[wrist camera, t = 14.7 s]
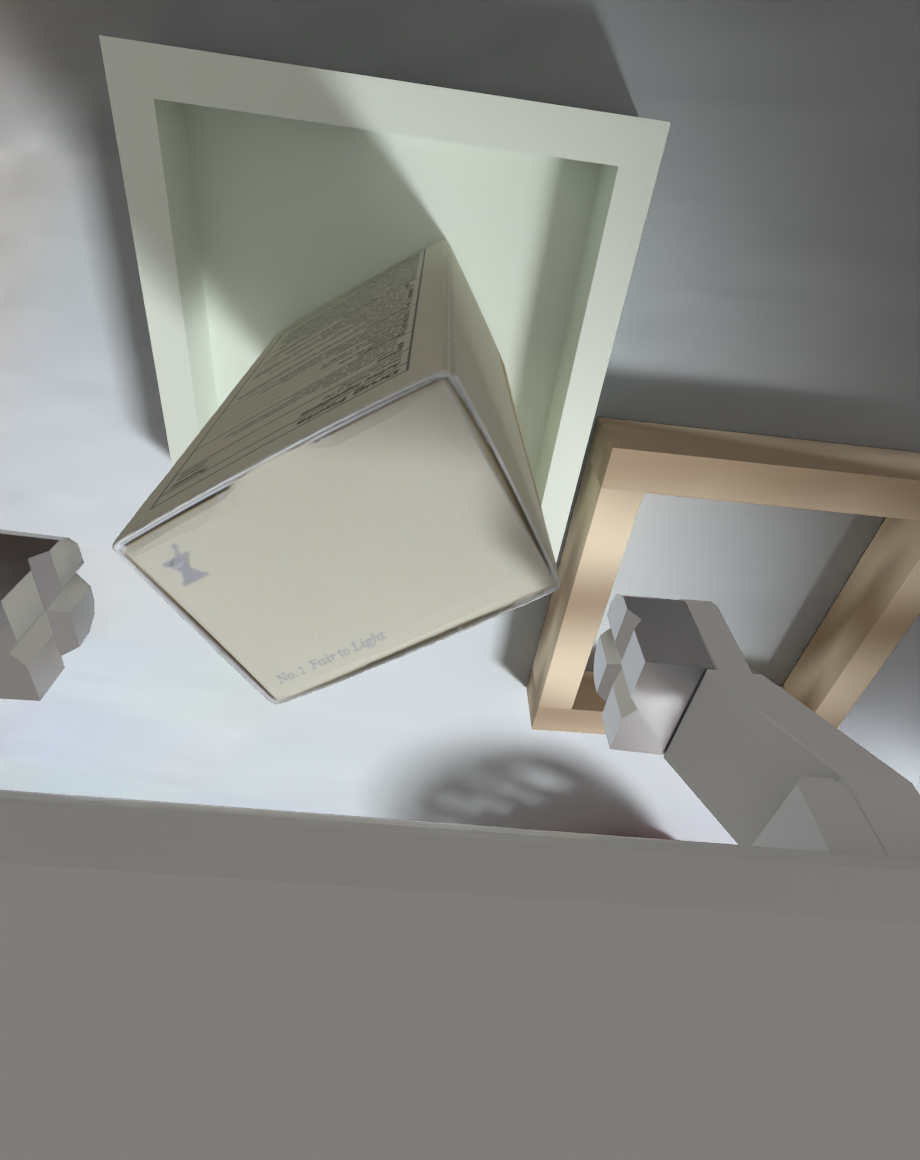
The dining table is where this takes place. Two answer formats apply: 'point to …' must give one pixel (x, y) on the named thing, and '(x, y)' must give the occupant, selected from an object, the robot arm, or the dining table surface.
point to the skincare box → (353, 490)
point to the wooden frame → (748, 475)
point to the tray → (375, 223)
